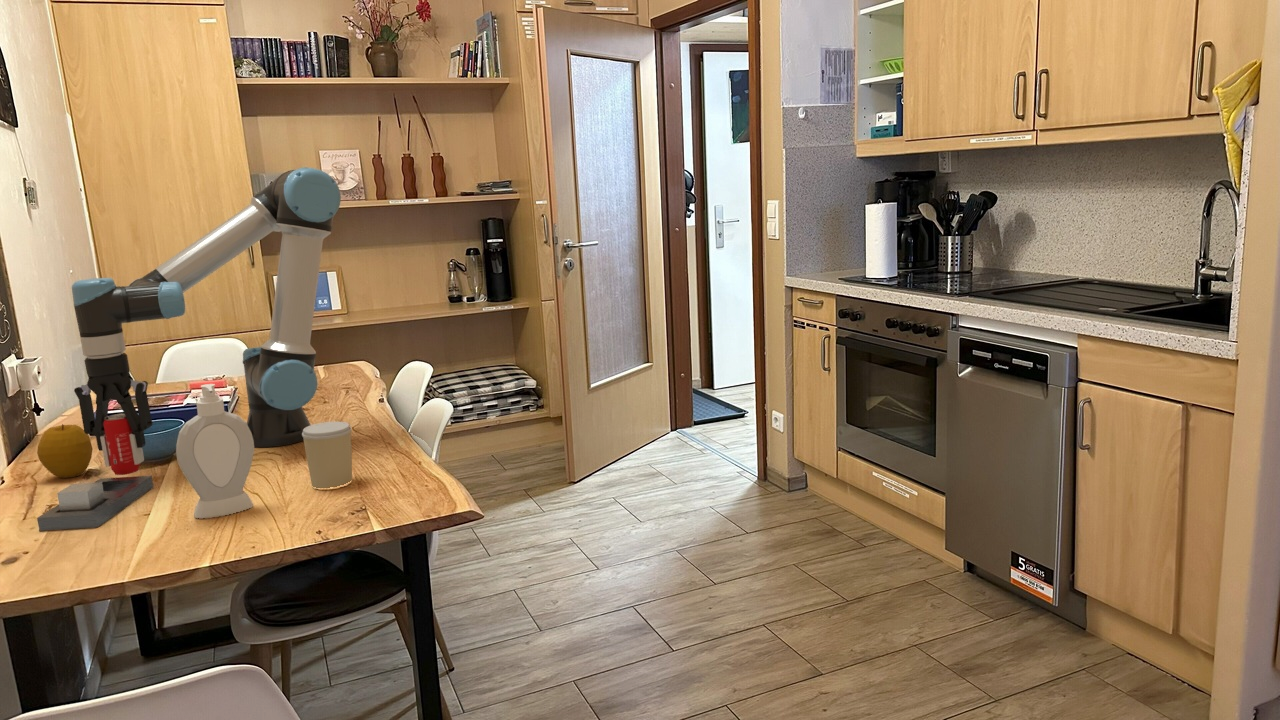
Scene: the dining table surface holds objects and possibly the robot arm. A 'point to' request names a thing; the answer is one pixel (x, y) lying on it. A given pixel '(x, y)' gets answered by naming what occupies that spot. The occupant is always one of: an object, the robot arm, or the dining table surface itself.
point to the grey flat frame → (93, 502)
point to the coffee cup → (328, 453)
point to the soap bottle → (216, 457)
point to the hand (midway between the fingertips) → (125, 463)
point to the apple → (65, 450)
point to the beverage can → (119, 444)
